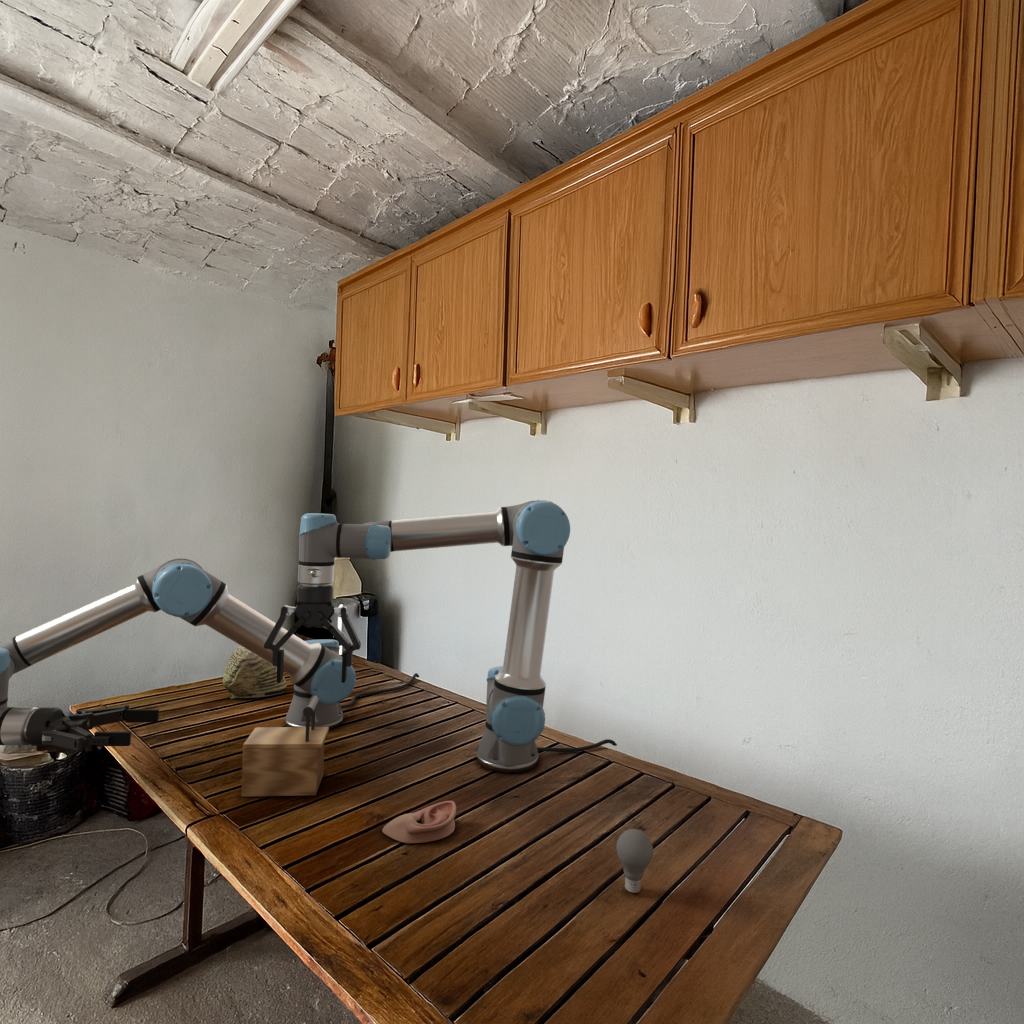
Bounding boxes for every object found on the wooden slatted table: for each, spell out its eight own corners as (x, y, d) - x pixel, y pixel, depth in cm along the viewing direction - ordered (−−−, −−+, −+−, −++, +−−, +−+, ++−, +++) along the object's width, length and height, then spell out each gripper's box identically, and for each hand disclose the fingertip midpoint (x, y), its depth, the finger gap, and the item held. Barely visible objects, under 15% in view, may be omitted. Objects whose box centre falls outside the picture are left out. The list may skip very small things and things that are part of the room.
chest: (323, 775, 144) (325, 730, 144) (315, 795, 134) (317, 748, 134) (253, 776, 142) (255, 731, 142) (241, 796, 132) (242, 748, 132)
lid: (328, 730, 144) (330, 694, 144) (321, 747, 134) (323, 708, 134) (255, 731, 142) (256, 693, 142) (242, 748, 132) (244, 708, 132)
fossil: (218, 695, 195) (220, 647, 195) (278, 685, 208) (279, 640, 207) (228, 703, 189) (230, 653, 188) (289, 692, 201) (290, 645, 201)
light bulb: (610, 879, 108) (613, 822, 108) (644, 879, 109) (647, 822, 109) (619, 902, 102) (622, 840, 102) (655, 901, 103) (658, 840, 103)
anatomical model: (376, 817, 118) (399, 790, 129) (375, 838, 118) (398, 809, 129) (444, 828, 115) (461, 799, 127) (443, 849, 115) (461, 819, 127)
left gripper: (67, 723, 143) (167, 723, 146) (-7, 769, 119) (115, 769, 122) (69, 690, 143) (169, 691, 146) (-5, 730, 119) (117, 730, 122)
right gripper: (251, 585, 133) (247, 685, 133) (372, 588, 136) (368, 686, 136) (260, 580, 140) (256, 675, 140) (375, 583, 144) (371, 676, 144)
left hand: (145, 726), depth 134 cm, fingers open, 13 cm apart
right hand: (312, 681), depth 138 cm, fingers open, 13 cm apart
